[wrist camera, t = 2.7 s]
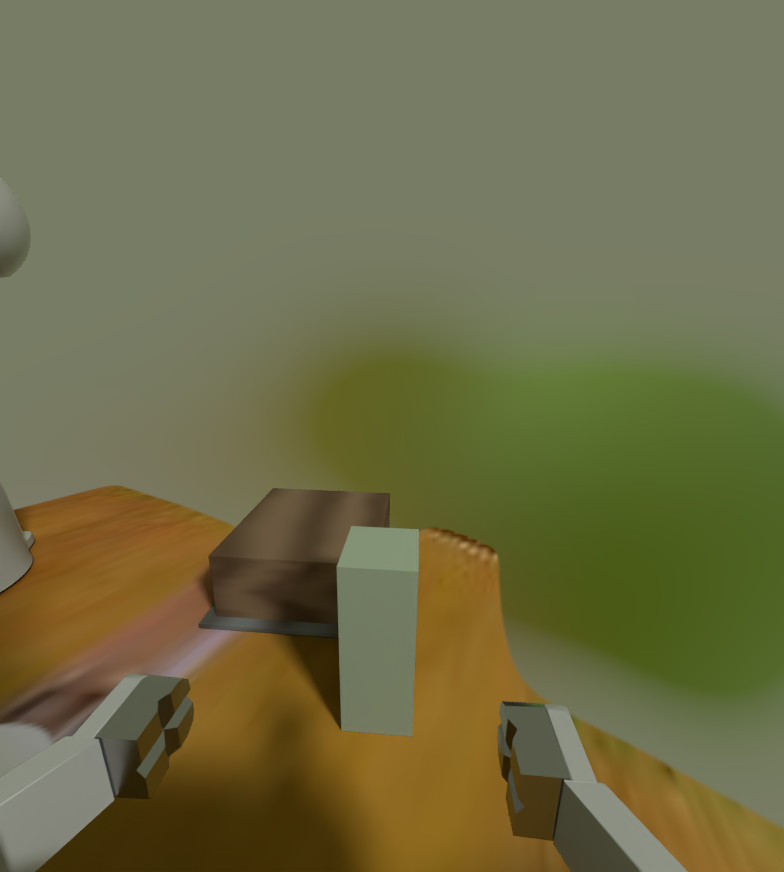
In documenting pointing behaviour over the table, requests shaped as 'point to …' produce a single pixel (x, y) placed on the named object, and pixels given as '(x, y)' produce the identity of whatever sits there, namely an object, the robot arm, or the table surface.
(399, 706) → the pillar
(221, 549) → the base
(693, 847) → the table surface
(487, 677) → the table surface
